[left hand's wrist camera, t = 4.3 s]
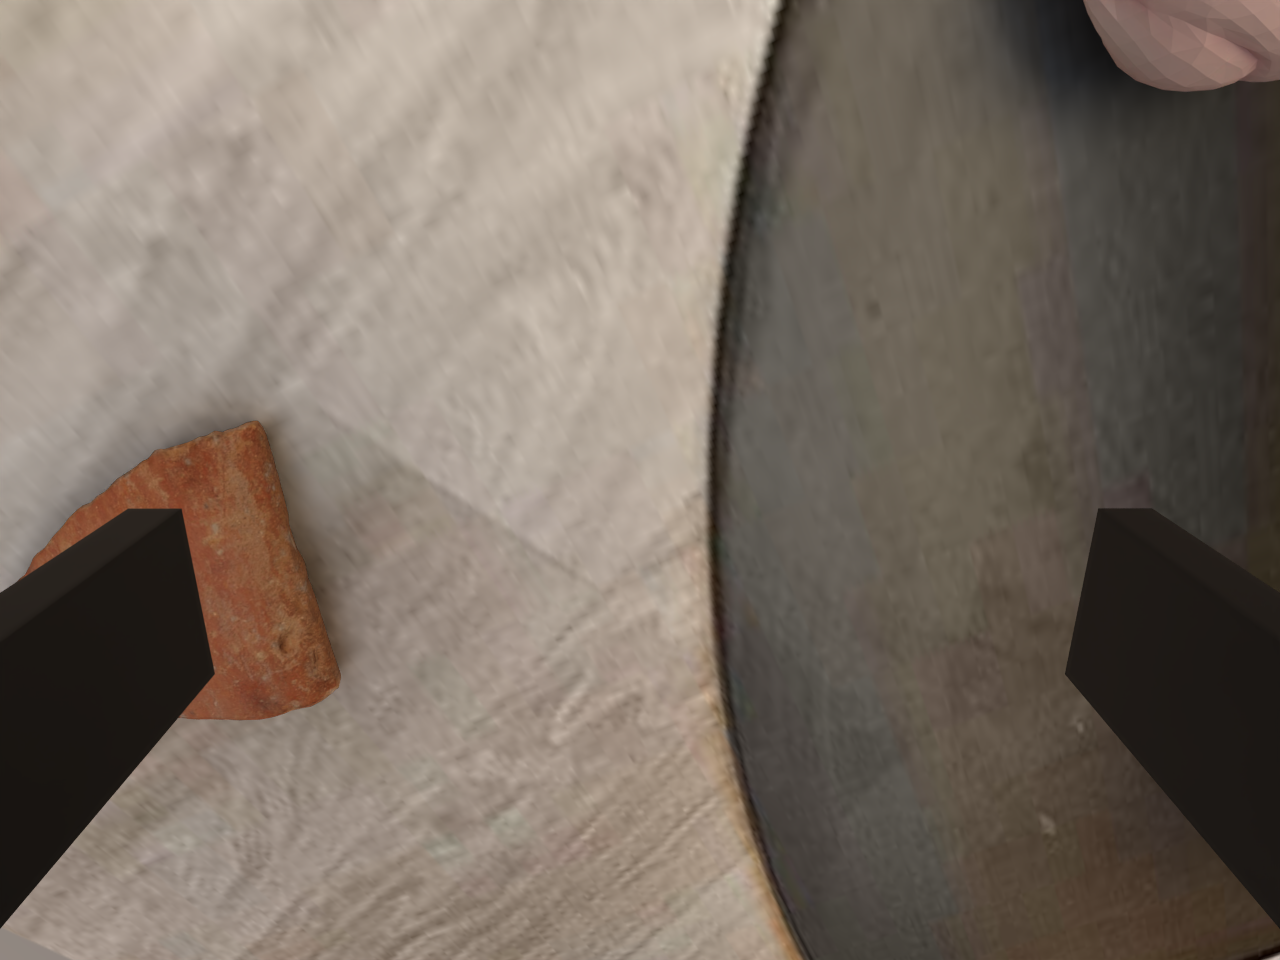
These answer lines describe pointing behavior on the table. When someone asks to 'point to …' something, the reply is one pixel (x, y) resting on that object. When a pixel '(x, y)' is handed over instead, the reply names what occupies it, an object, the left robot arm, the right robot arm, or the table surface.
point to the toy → (1191, 40)
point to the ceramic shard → (231, 570)
